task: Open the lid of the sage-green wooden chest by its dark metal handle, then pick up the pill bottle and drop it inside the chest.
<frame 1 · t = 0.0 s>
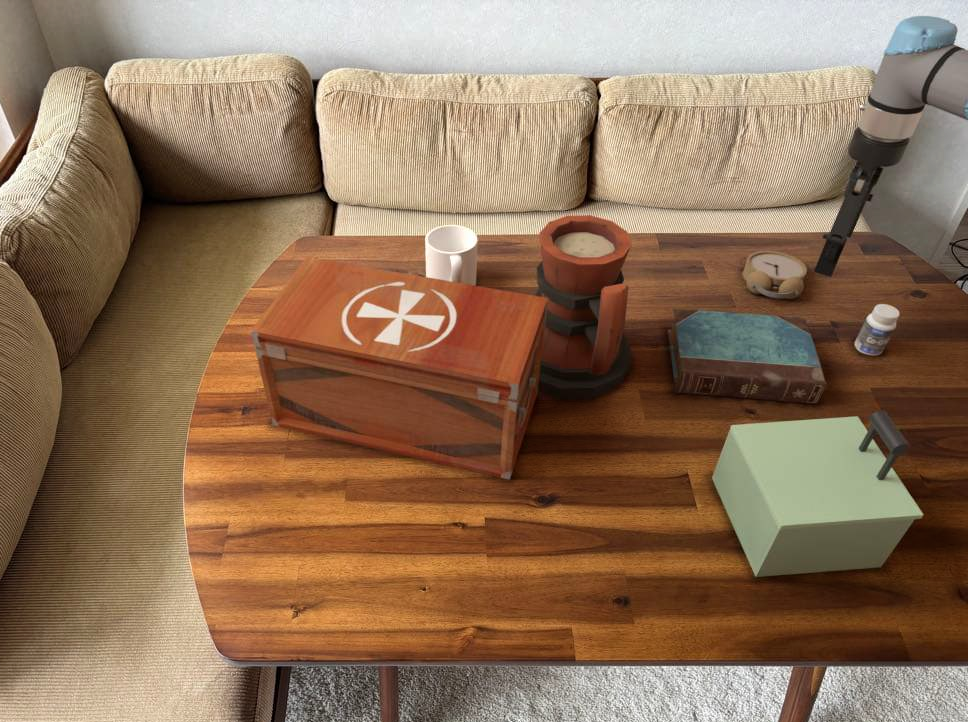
hand: (832, 253, 129), 17 cm above the table, tool pointing down, fingers open, 13 cm apart
mug: (452, 287, 153), on the table
book: (737, 366, 135), on the table
alarm clock: (770, 285, 152), on the table
tankard: (570, 363, 136), on the table
lid: (830, 451, 101), point 15 cm above the table, hinge at 0.0°
wooden box: (407, 409, 129), on the table
chest: (791, 520, 111), on the table
pill bottle: (867, 348, 138), on the table
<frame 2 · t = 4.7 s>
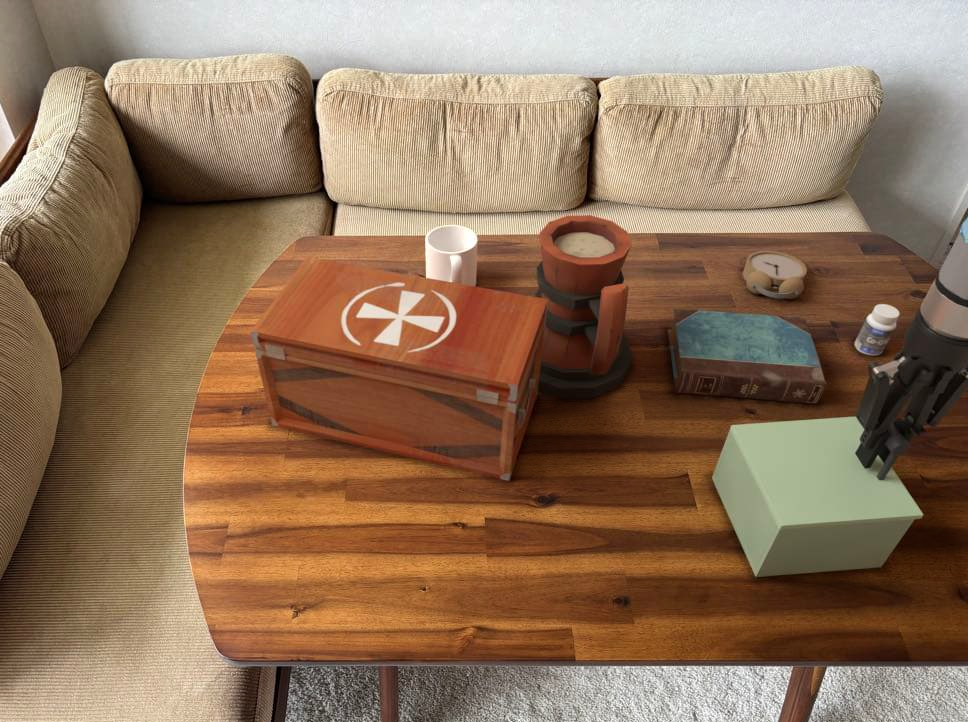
hand: (873, 459, 103), 12 cm above the table, tool pointing down, fingers closed on lid, 2 cm apart
lid: (830, 451, 101), point 15 cm above the table, hinge at 0.0°, touching gripper
everything else where it was.
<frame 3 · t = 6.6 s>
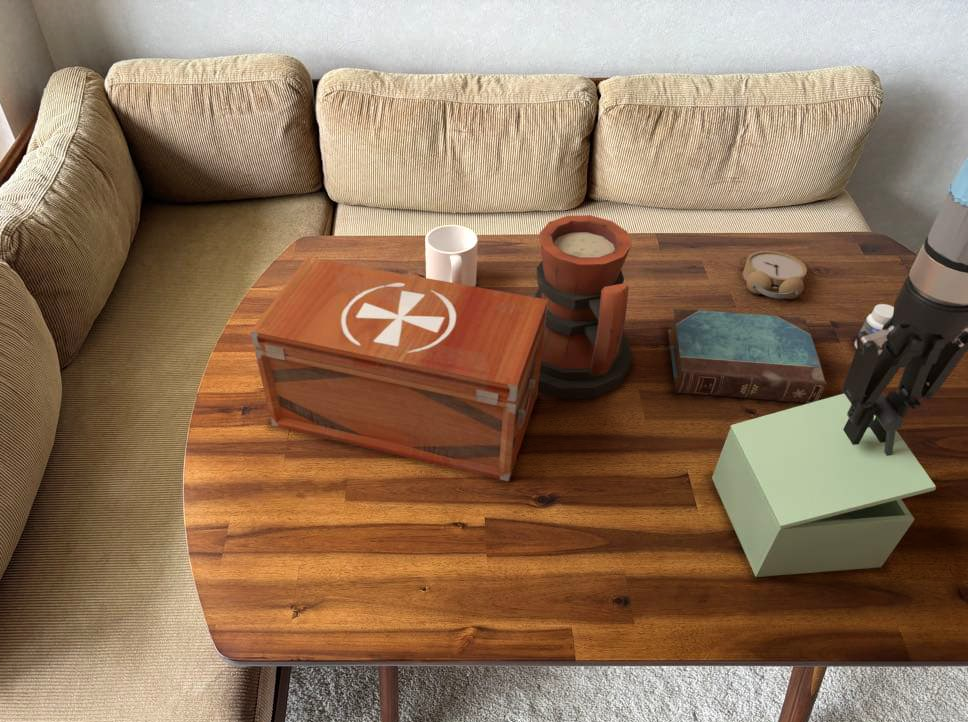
hand: (864, 435, 99), 18 cm above the table, tool pointing down, fingers open, 3 cm apart
lid: (825, 438, 99), point 18 cm above the table, hinge at 18.4°, touching gripper
everything else where it was.
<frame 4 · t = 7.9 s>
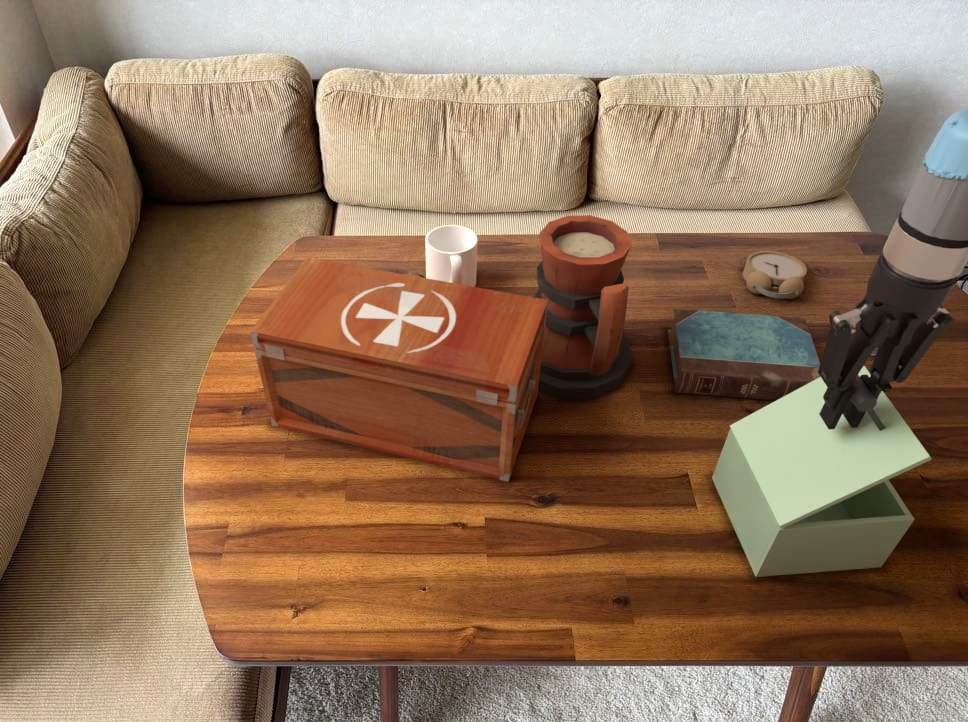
hand: (838, 420, 97), 21 cm above the table, tool pointing down, fingers closed on lid, 2 cm apart
lid: (810, 427, 97), point 20 cm above the table, hinge at 39.6°, touching gripper
everything else where it was.
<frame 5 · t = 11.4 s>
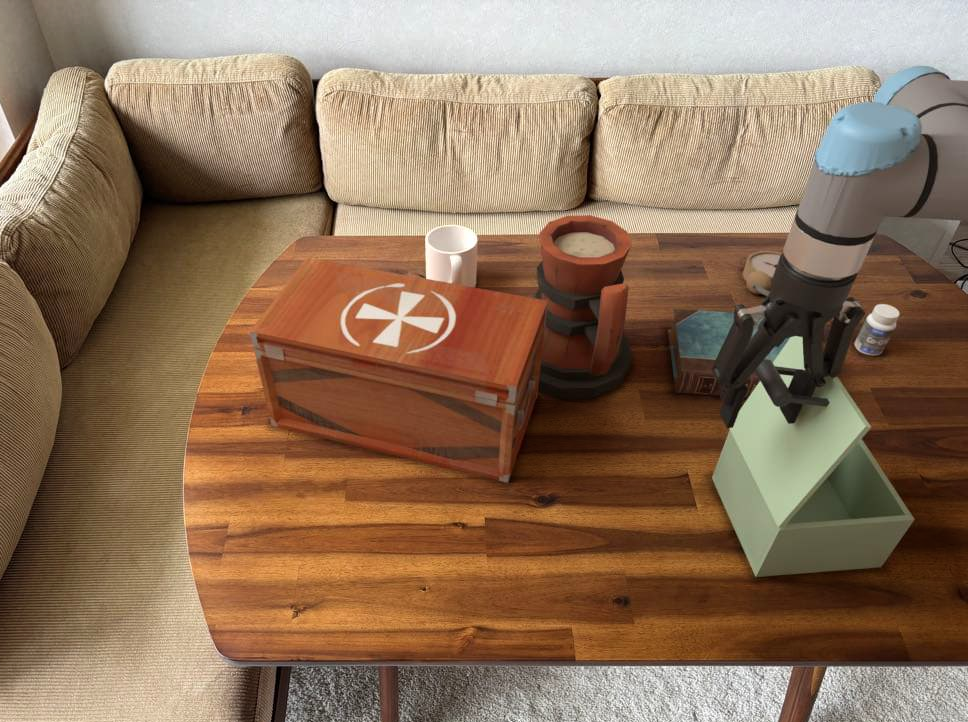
hand: (756, 417, 95), 22 cm above the table, tool pointing down, fingers open, 7 cm apart
lid: (765, 424, 96), point 21 cm above the table, hinge at 76.4°, touching gripper
everything else where it was.
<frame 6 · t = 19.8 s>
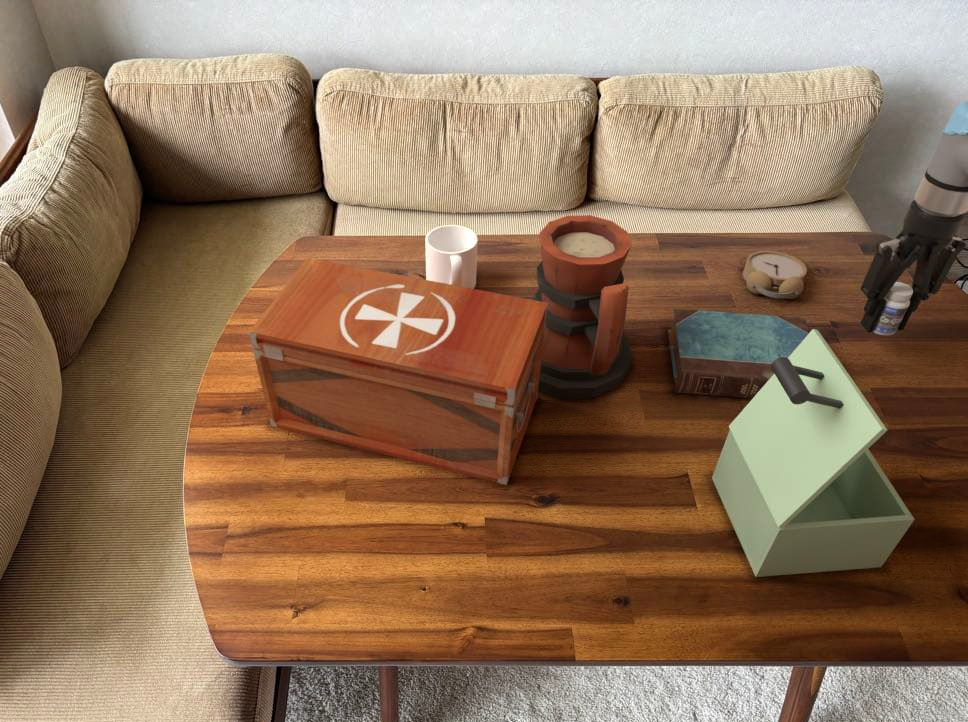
hand: (881, 326, 134), 5 cm above the table, tool pointing down, fingers closed on pill bottle, 5 cm apart
lid: (775, 423, 96), point 21 cm above the table, hinge at 69.6°
pill bottle: (880, 328, 134), point 5 cm above the table, touching gripper
everything else where it was.
when the fingers open (12 cm above the table, at t = 27.7 s): pill bottle drops 9 cm, resting on chest.
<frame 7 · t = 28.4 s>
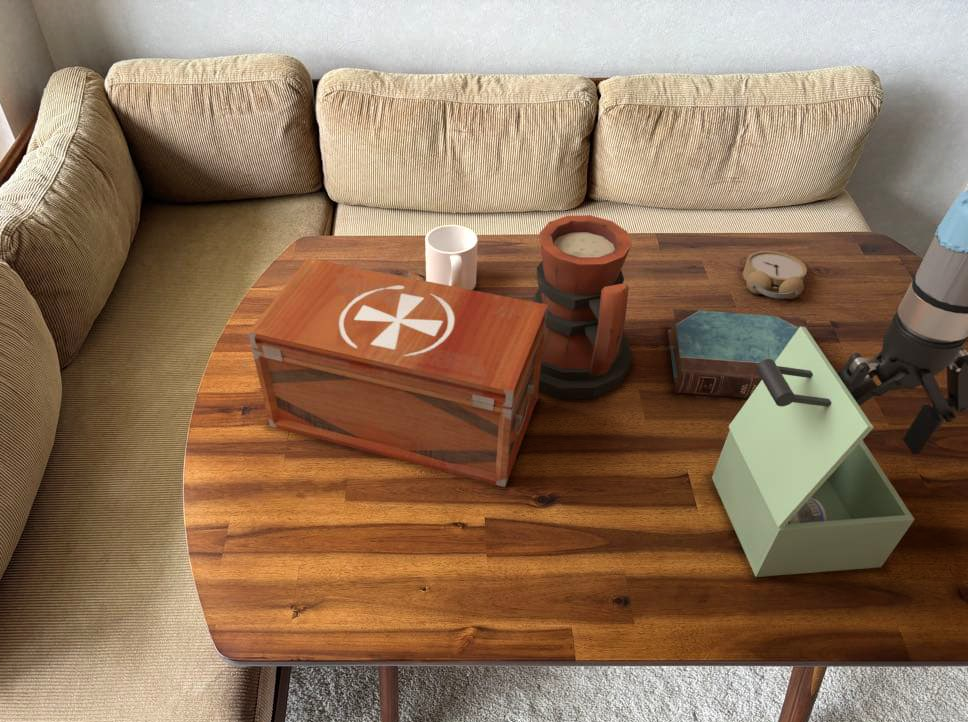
hand: (860, 450, 101), 15 cm above the table, tool pointing down, fingers open, 13 cm apart
lid: (766, 424, 96), point 21 cm above the table, hinge at 75.6°, touching gripper, hand
pill bottle: (818, 514, 108), point 3 cm above the table, touching chest
everything else where it was.
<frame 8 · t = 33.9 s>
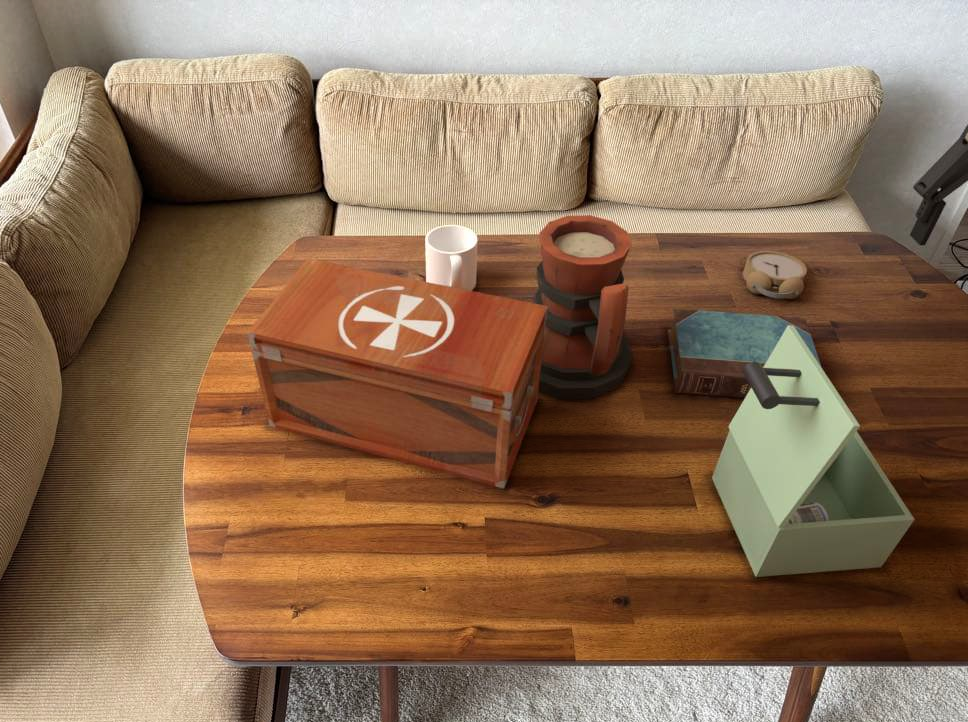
hand: (964, 237, 108), 31 cm above the table, tool pointing down, fingers open, 13 cm apart
lid: (759, 425, 96), point 21 cm above the table, hinge at 80.9°
at the end: lid at +81° (first picture: +0°); pill bottle inside the target area in the chest (3.1 cm from its centre), point 3.2 cm above the chest's base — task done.
